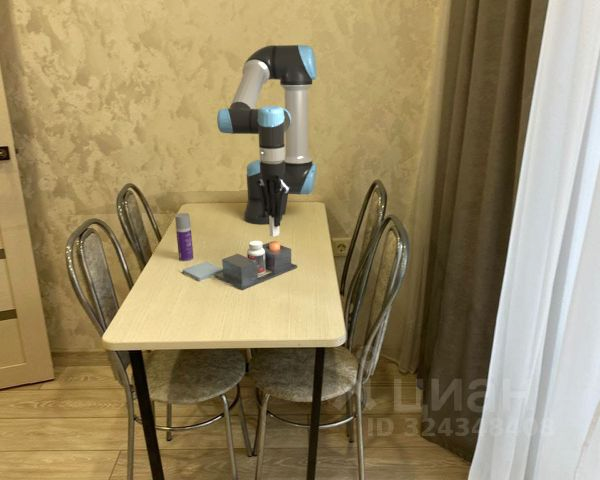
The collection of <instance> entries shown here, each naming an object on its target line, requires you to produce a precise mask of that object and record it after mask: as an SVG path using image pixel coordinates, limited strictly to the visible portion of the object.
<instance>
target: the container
mask: <svg viewBox="0 0 600 480" xmlns="http://www.w3.org/2000/svg"><path fill="white" fill-rule="evenodd" d="M174 216H175V219H174V221H175V233H176V242H177V253H178V260H179V261H180V262H191V261H192V260H194V249H193V247H194V246H193V239H192V238H193V237H192V235H193V234H192V225H191V218H190V217H191V216H190V214H189V213H187V212H181V213H177V214H175V215H174Z"/></svg>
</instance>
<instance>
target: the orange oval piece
mask: <svg viewBox="0 0 600 480" xmlns="http://www.w3.org/2000/svg"><path fill="white" fill-rule="evenodd" d="M268 243H269V249H270V250H272V251H276V250H279V249H280V245H281V242H280V241H276V240H274V241H269V242H268Z"/></svg>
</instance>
